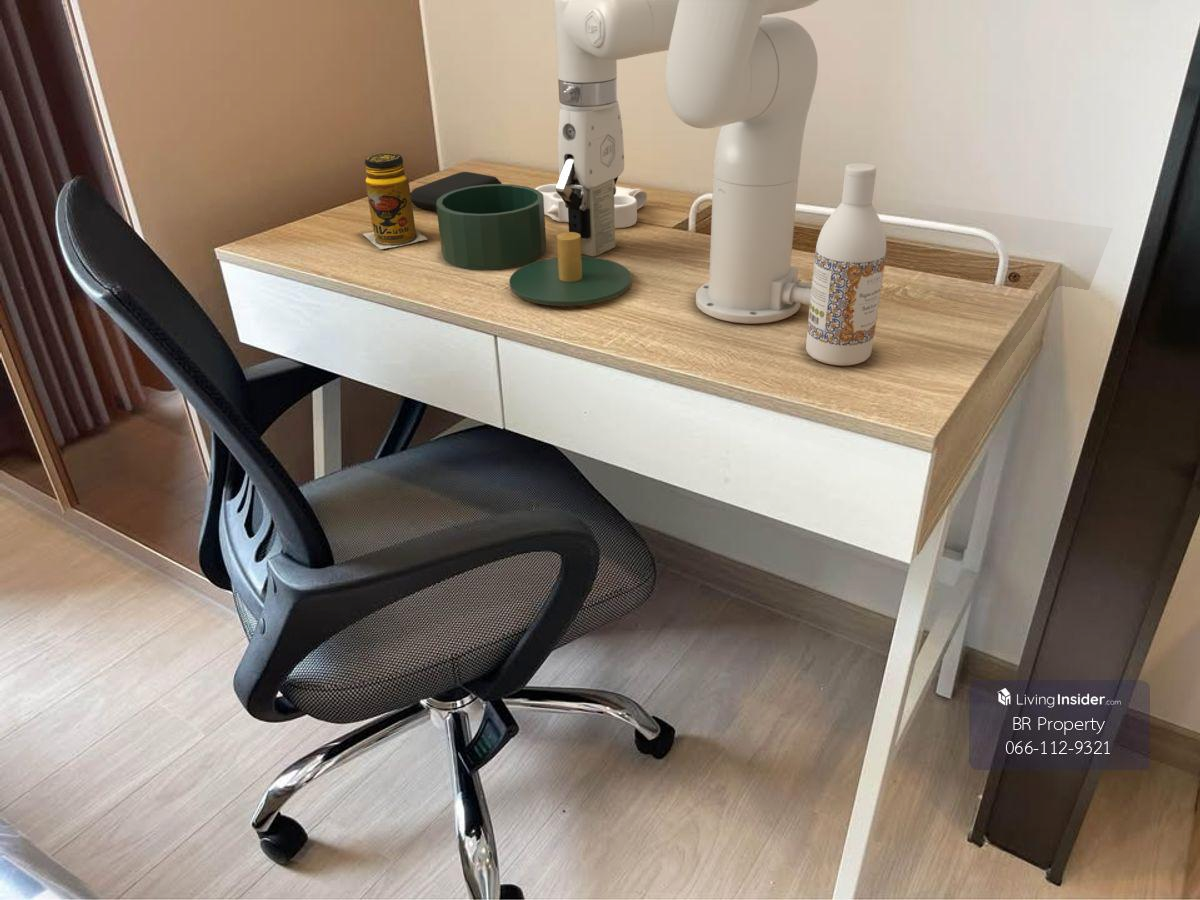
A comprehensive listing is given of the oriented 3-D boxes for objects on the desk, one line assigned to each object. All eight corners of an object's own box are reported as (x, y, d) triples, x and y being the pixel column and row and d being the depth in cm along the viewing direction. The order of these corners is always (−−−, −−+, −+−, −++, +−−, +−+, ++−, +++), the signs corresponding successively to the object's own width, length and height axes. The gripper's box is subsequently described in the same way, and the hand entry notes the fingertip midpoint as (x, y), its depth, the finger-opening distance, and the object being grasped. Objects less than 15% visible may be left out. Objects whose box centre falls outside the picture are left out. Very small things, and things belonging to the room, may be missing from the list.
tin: (566, 244, 131) (563, 191, 127) (506, 277, 121) (501, 221, 117) (485, 229, 138) (480, 179, 134) (421, 259, 127) (414, 206, 123)
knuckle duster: (664, 209, 143) (612, 236, 133) (571, 193, 152) (516, 217, 142) (664, 188, 142) (611, 213, 132) (570, 173, 151) (514, 195, 140)
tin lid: (653, 276, 119) (653, 226, 116) (590, 319, 108) (588, 265, 104) (554, 257, 126) (551, 210, 123) (485, 296, 115) (480, 245, 111)
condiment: (381, 250, 131) (367, 165, 124) (361, 235, 137) (348, 153, 130) (428, 240, 134) (417, 157, 127) (407, 225, 140) (396, 145, 134)
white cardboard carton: (593, 241, 132) (591, 171, 126) (616, 247, 129) (615, 176, 124) (568, 251, 128) (565, 179, 123) (592, 257, 126) (590, 184, 121)
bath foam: (838, 373, 95) (863, 180, 84) (791, 350, 100) (809, 164, 89) (884, 356, 98) (913, 167, 87) (837, 334, 103) (859, 153, 92)
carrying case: (460, 184, 158) (399, 207, 148) (458, 167, 157) (396, 188, 147) (507, 193, 153) (448, 217, 143) (506, 175, 152) (446, 198, 141)
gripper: (576, 108, 110) (582, 253, 119) (645, 83, 122) (645, 216, 132) (525, 103, 113) (535, 244, 123) (597, 79, 126) (601, 209, 135)
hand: (592, 228), depth 127 cm, fingers closed on white cardboard carton, 5 cm apart
